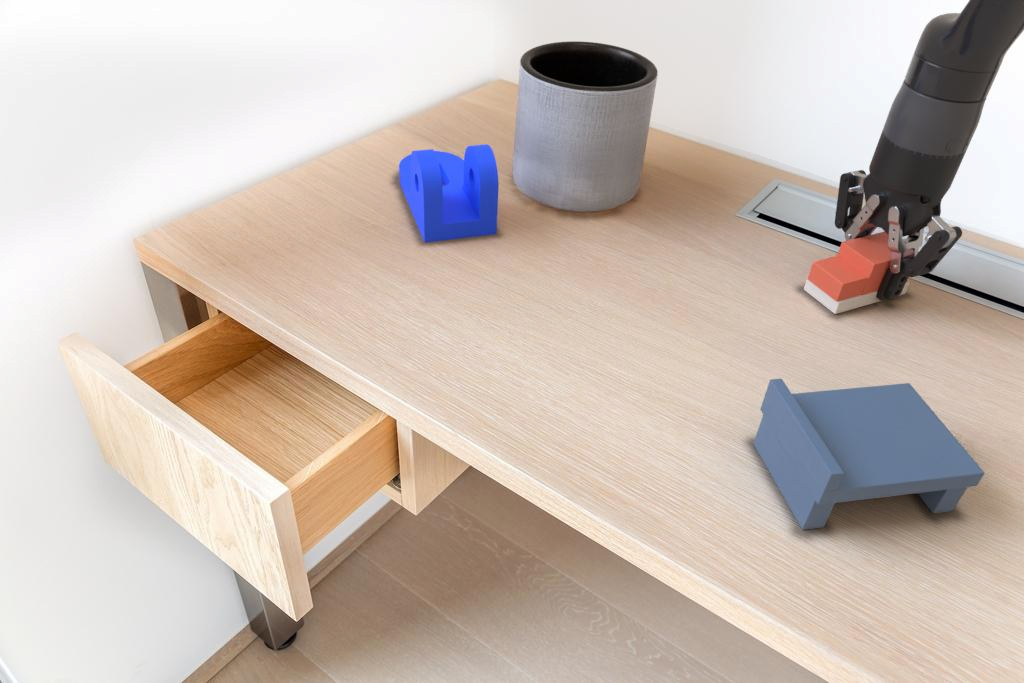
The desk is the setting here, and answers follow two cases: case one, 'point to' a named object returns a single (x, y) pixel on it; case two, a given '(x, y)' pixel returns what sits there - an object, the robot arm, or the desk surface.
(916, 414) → the shoe shelf
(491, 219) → the bracket
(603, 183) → the planter
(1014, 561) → the desk surface
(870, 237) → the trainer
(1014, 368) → the desk surface
